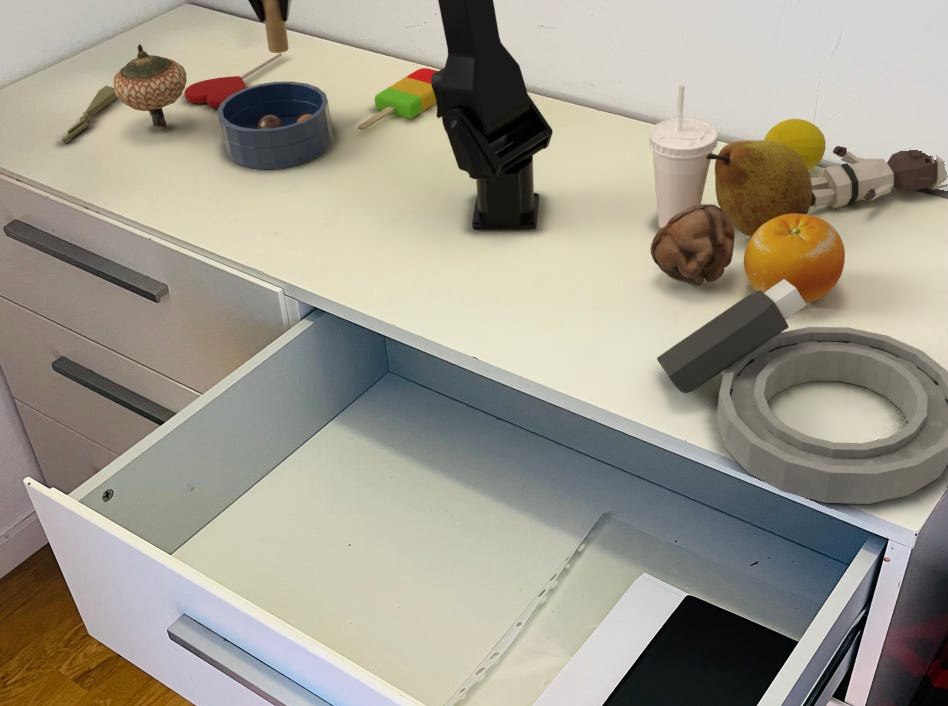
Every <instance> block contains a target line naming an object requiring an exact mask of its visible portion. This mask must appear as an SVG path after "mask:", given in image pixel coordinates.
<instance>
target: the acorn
mask: <svg viewBox="0 0 948 706" xmlns="http://www.w3.org/2000/svg"><path fill="white" fill-rule="evenodd" d="M187 80H188V79H187V72H186V69H185V67H184V66H183V65H182V64H180V63H179V62H177V61H175V60H174V59H170V58H168V57H163V56H159V55H151V54H150V55H149V54H148V53H147V52H146V51H145V50H144V48H143V46H142V45H141V43H138V45H137V55H136V57H135V58H133V59H132V60H130V61H128V62H127V63H126V64H125V66H123V67H121V68H120V69H119V70H118V71H117V73H116V74H115V76H113V80H112V86H113V87H112V88H114V92H115V94H116V96H117V99H119V100H120V101H121V102H122V103H123V104H124V105H125V106H127V107H129V108H131V109H133V110H135V111H141V112H148V113H149V115H150V117H151V122H152V127H156V128H158V129H160V130H162V129H163V128H165V129H167V128H168V127H169V126H167V121H166V118H165V114H164V111H163V108H165V107H167V106H170V105H173V104H174V103H176V101H178V99H179V98H180V97H181V96H182V95H183V92H184V91H185V90H186V84H187Z"/></svg>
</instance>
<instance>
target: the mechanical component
mask: <svg viewBox="0 0 948 706" xmlns="http://www.w3.org/2000/svg"><path fill="white" fill-rule="evenodd" d="M721 379H722V380H721V384H720V388H719V392H718V402H717V414H716V425H717V429H718V431H719V434H720V437H721V441H722V443H723V447H724V449H725V450H726V451H727V452H728V453H729V454H730V456H732V458H734V459H735V461H736V462H737V463H738V464H739V465H740V466H741V467H742V468H743V470H744V471H746V472H747V473H748V474H750V475H751V476H754V477H755V478H757V479H759V480H761V481H763V483H766V484H768V485H770V486H771V487H773V488H775V489H777V490H779V491H780V492H782V493H787V494H790V495H794V496H797V497H802V498H806V499H809V500H814V501H817V502H821V503H825V504H853V505H854V504H857V505H870V504H875V503H880V502H884V501H885V502H886V501H889V500H893V499H894V500H895V499H898V498H902V497H907V496H910V495H912V494H914V493H916V492H917V491H918V490H920V489H922V488H924V487H925V486H927V485H929V484H931V483H933V482H934V481H935V480H937V479H938V478H940V477H941V475H942V474H943V472H944V471H945V469H946V468H947V466H948V370H947V369H946V368H945V367H943V366H942V365H941V364H939V362H937V361H936V360H934V359H933V358H932V357H931V356H929V355H928V354H927V353H926V352H924V351H923V350H921V349H919V348H916V347H915V346H912V345H909V344H908V343H906V342H903V341H900V340H899V339H896V338H893V337H892V336H889V335H886V334H881V333H876V332H872V331H868V330H863V329H857V328H854V327H853V328H852V327H848V326H847V327H846V326H845V327H844V326H843V327H842V326H841V327H839V326H837V327H836V326H806V327H802V328H801V327H800V328H797V329H791V330H785V331H782V332H781V333H779V334H778V335H776V336H775V337H773V338H772V339H770V340H769V341H767V342H766V343H764V344H763V345H761V346H760V347H758V348H757V349H755V350H754V351H752V352H751V353H749V354H748V355H746V356H745V357H743V358H742V359H740V360H739V361H737V362H736V363H735V364H733V365H732V366H730V367H729V368H727V369H726V370H724V371H723V376H722V378H721ZM814 381H817V382H818V381H820V382H821V381H825V382H826V381H827V382H829V381H830V382H842V383H846V384H847V383H848V384H852V385H857V386H861V387H864V388H867V389H869V390H871V391H873V392H875V393H877V394H879V395H881V396H884V397H886V398H887V399H888V400H889V401H890V402H892V404H894V405H895V406H896V407H897V408H898V409H899V410H901V412H902V414H903V415H904V418H905V419H906V422H907V424H906V427H904V428H902V429H900V430H898V431H897V432H894V433H893V434H891V435H889V436H887V437H884V438H880V439H879V438H878V439H875V440H870V441H866V442H833V441H830V440H825V439H822V438H817V437H813V436H809V435H806V434H804V433H802V432H800V431H799V430H797V429H795V428H793V427H791V426H790V425H787V424H785V423H784V422H783V421H782V420H781V419H780V418H779V416H777V415H776V414H775V413H774V412H773V411H772V410H771V409H770V407H769V404H768V402H769V401H770V400H771V399H772V398H773V397H774V395H776V394H778V393H780V392H782V391H784V390H786V389H788V388H789V387H792V386H795V385H800V384H804V383H805V384H806V383H810V382H814Z"/></svg>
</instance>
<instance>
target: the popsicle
mask: <svg viewBox="0 0 948 706" xmlns="http://www.w3.org/2000/svg"><path fill="white" fill-rule="evenodd" d="M437 71H438V70H436V69H432V68H428V67H422V68H419V69H417V70H415V71H413V72H411V73H409V74H408V75H406V76H405V77H403V78H401V79H400V80H398V81H397V82H395V83H393V84H392V85H390V86H389V87H387V88H385V89H383V90H382V91H380V92H379V93H377V94H375V96H374V105H375V108H376V109H377V110H379V111H378V112H377V113H375V114H374V115H372V116H371V117H369V118H368V119H366V120H364V121H363V122H361V123H359V124H358V125H357V129H358V130H361V131H364V130H367V129H368V128H370V127H372V126H373V125H374V124H376V123H378V122H379V121H382V120H383V119H384V118H386V117H387V116H390V115H394V116H395V115H396V116H399V117H402V118H406V119H409V120H412V119H413V118H414V117H416V116H418V115H419V114H421V113H422V112H424V111H425V110H427V109H429V108H430V107H432V106H433V105H435V104H437V103H436V98H435V95H434V92H433V89H432V85H431V77H432V74H434V73H436V72H437Z"/></svg>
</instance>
